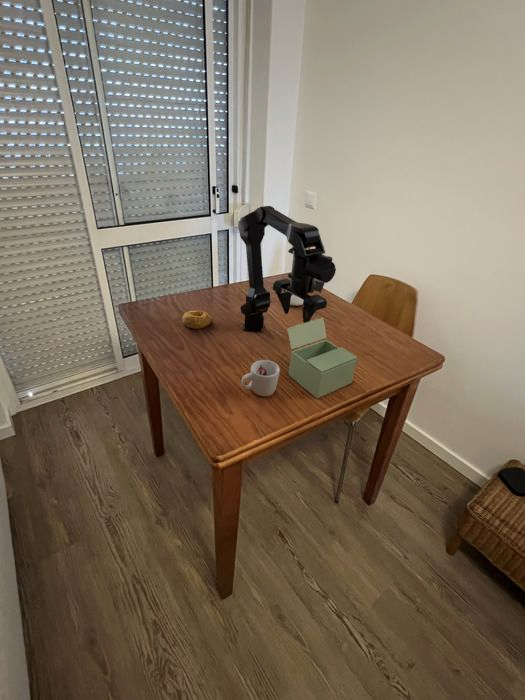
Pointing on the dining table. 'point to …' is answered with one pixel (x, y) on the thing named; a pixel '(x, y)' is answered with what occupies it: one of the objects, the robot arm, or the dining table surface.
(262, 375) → the cup
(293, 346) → the flap
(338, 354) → the carton
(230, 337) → the dining table surface
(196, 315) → the bagel
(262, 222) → the robot arm
